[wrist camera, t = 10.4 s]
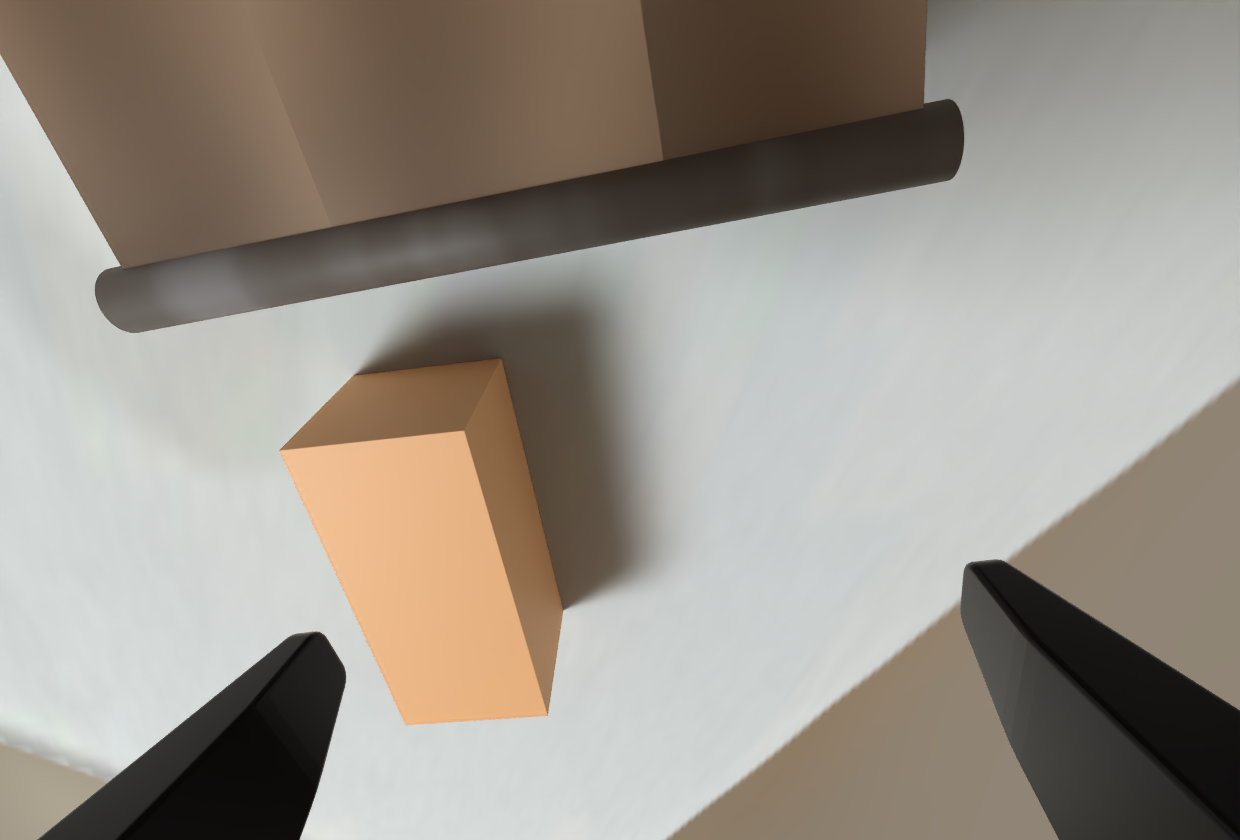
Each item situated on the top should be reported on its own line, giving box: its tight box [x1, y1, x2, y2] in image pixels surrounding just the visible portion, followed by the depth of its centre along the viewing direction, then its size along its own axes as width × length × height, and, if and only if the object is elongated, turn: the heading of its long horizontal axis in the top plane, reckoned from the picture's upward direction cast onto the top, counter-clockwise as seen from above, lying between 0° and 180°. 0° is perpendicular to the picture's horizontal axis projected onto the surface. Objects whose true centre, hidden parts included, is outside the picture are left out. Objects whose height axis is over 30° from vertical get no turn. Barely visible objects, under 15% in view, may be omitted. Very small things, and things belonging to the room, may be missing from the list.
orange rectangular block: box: [279, 358, 563, 725], centre depth 19 cm, size 4×10×4 cm, turn 8°
